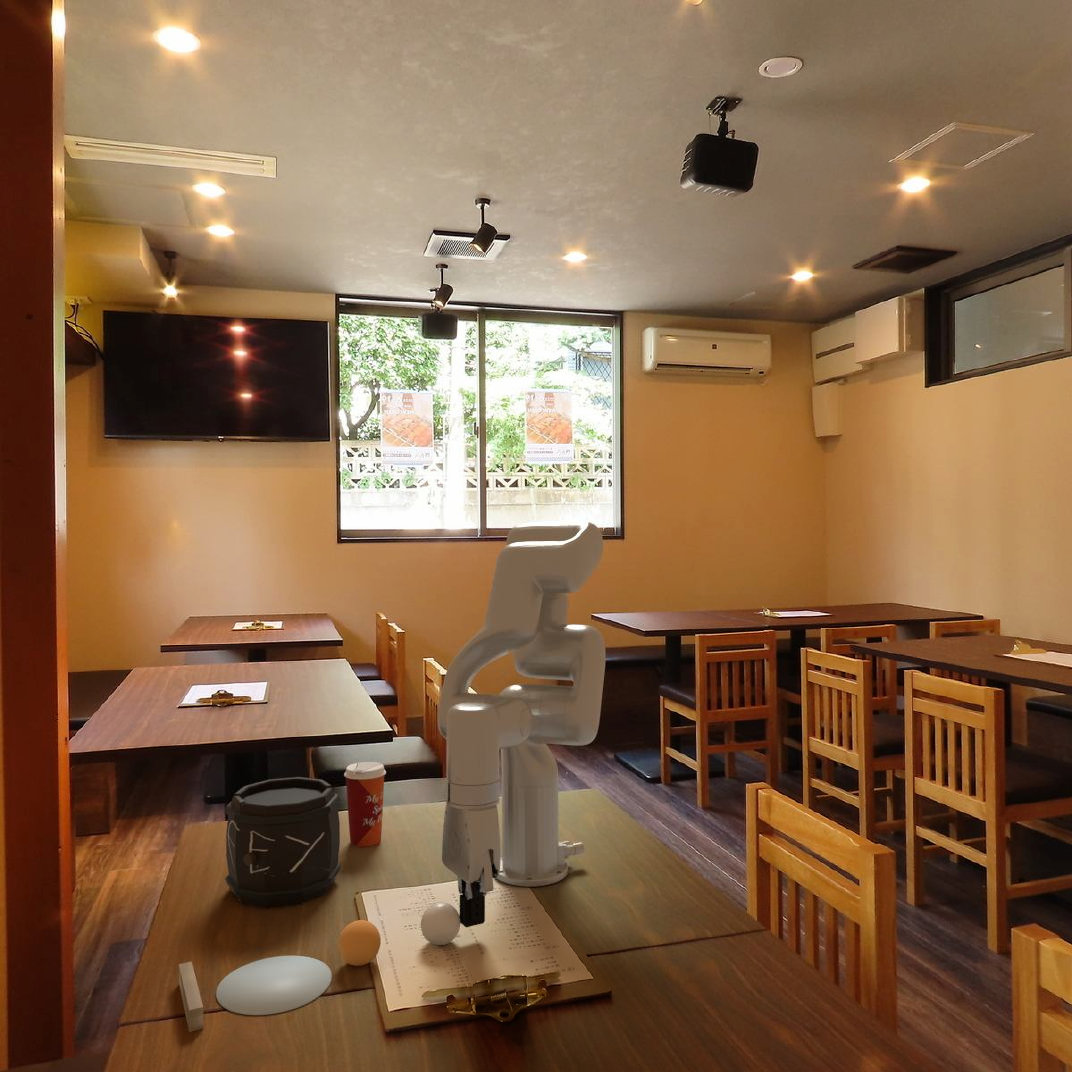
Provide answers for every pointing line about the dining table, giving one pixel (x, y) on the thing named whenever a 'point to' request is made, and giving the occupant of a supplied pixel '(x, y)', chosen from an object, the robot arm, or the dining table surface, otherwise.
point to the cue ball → (440, 923)
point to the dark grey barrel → (282, 841)
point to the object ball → (359, 942)
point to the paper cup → (365, 802)
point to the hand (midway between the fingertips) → (472, 923)
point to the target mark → (273, 985)
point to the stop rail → (190, 997)
